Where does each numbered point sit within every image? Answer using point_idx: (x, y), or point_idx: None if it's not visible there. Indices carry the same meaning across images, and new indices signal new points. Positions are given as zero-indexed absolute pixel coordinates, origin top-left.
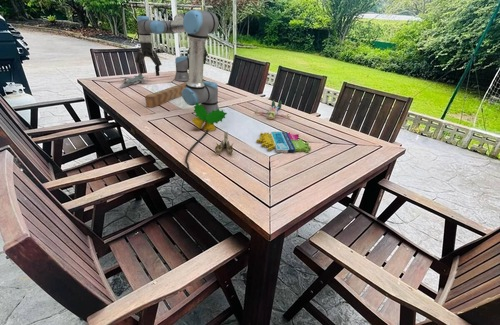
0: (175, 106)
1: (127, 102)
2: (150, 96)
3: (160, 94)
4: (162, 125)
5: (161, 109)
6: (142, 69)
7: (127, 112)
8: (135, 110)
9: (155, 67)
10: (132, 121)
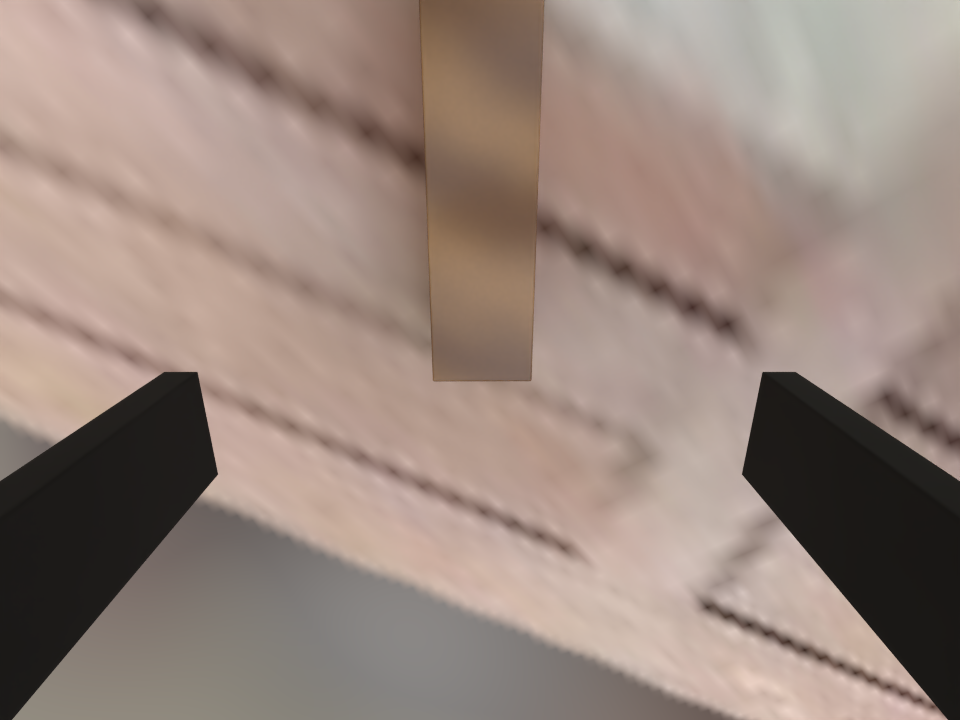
0: (732, 151)
1: (168, 322)
2: (511, 364)
3: (538, 160)
4: (842, 618)
5: (639, 330)
6: (135, 462)
7: (421, 539)
8: (439, 473)
9: (944, 691)
10: (598, 650)
